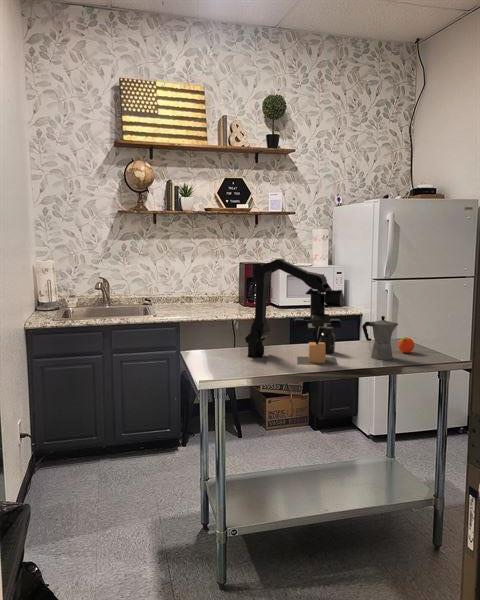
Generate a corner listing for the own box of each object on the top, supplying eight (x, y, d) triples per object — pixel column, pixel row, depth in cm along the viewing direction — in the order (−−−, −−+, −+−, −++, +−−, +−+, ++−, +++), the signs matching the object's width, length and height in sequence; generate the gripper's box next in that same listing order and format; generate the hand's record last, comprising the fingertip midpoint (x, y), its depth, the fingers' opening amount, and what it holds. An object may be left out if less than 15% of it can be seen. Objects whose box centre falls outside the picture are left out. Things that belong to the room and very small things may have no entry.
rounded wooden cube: (309, 362, 207) (309, 345, 206) (308, 358, 213) (308, 342, 212) (325, 362, 206) (325, 345, 205) (324, 359, 213) (324, 342, 212)
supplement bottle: (334, 356, 222) (335, 329, 221) (318, 355, 224) (319, 328, 222) (334, 353, 229) (335, 326, 228) (319, 352, 230) (319, 326, 229)
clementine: (406, 355, 224) (406, 339, 223) (393, 352, 230) (393, 337, 229) (417, 353, 229) (418, 337, 228) (404, 350, 234) (404, 335, 234)
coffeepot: (393, 355, 225) (394, 314, 223) (400, 360, 216) (402, 317, 214) (358, 355, 224) (359, 314, 222) (364, 360, 215) (365, 317, 213)
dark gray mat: (297, 366, 204) (297, 364, 204) (297, 358, 218) (297, 356, 218) (338, 367, 202) (338, 365, 202) (335, 359, 216) (335, 357, 216)
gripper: (294, 308, 200) (293, 347, 202) (342, 308, 198) (342, 348, 200) (294, 304, 211) (294, 342, 213) (340, 305, 209) (339, 342, 211)
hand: (317, 343), depth 209 cm, fingers closed, pressing on rounded wooden cube
